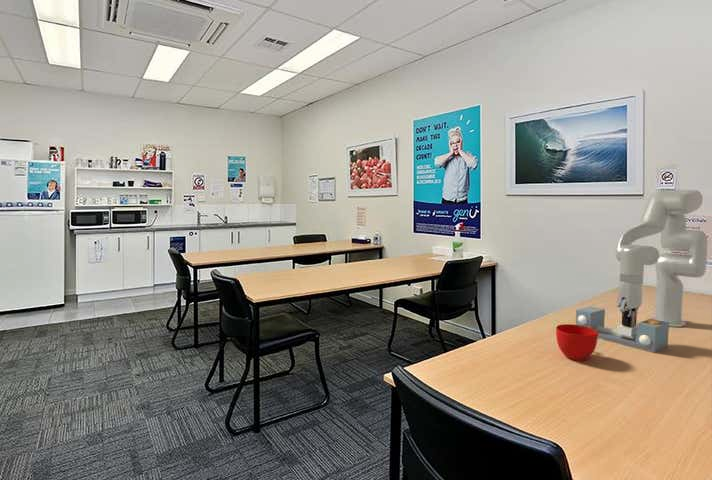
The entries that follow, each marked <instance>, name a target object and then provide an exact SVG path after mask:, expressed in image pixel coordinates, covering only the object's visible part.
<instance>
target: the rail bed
mask: <svg viewBox="0 0 712 480" xmlns="http://www.w3.org/2000/svg"><path fill="white" fill-rule="evenodd" d="M605 313H606V308H600V307H596V306H591V305H590V306H586V307H583V308H582V307H581V308H579V309H576V311H575V325H581V326H586V327H589V328H592V329H595V330H596V331H597V332H598V338H597V339H600V340H603V341H604V340H605V341H609V342H612V343H615V344H620V345H623V346H627V347H630V348H634V349H637V350H642V351H645V352H649V353H654V354H655V353H657V352H660V351H662V350H664V349H666V348H668V345H669V331H670V326H669V322H664V321H659V325H653V324H649V323H647V320H643V321H640V322H636V325H637V334H636V335H635V336H634V338H633V339H631V338H627V337H623V336H619V334H618V333H617V329H616V330H615V329H613V328H608V327H605V319H606V318H605V315H606V314H605Z"/></svg>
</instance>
